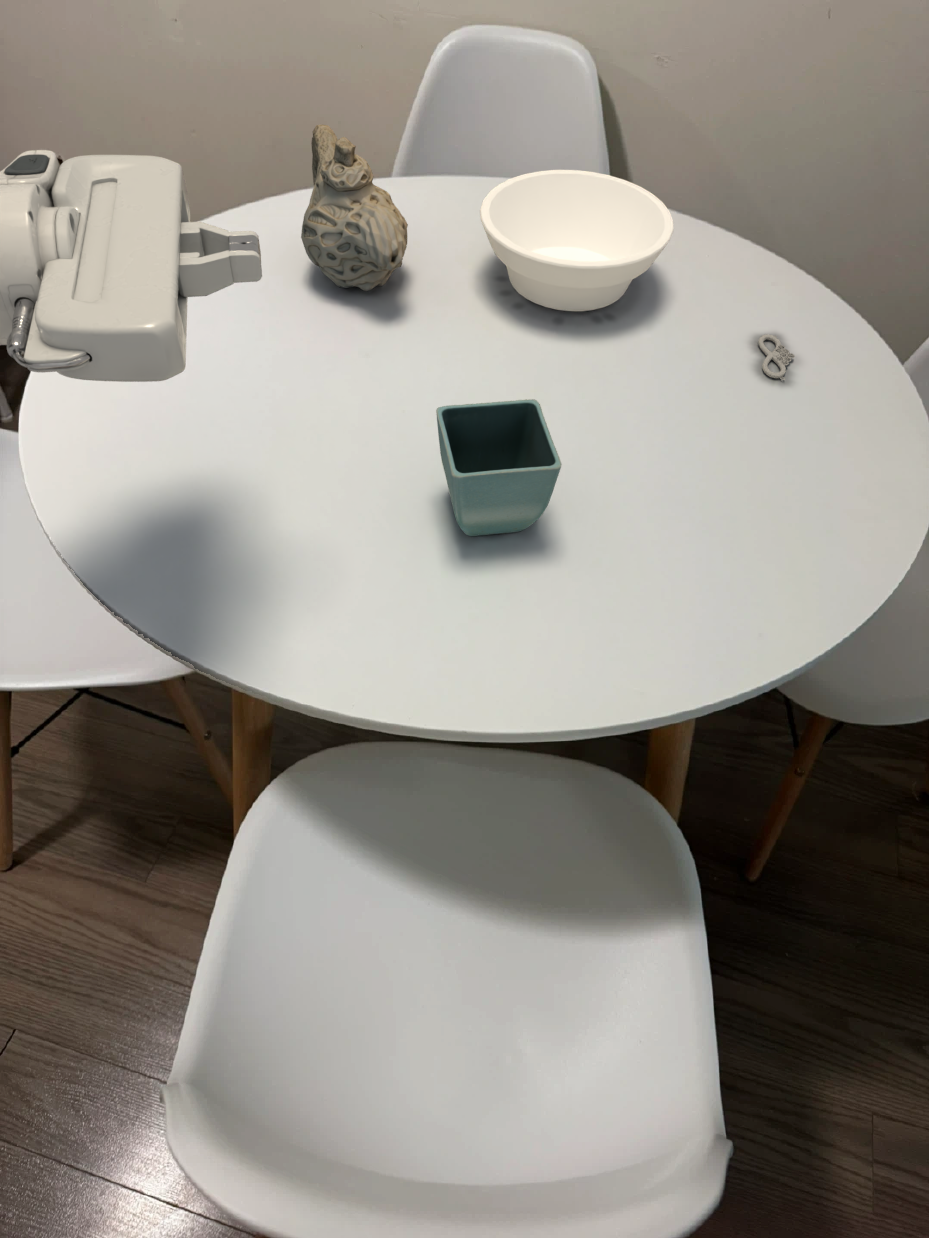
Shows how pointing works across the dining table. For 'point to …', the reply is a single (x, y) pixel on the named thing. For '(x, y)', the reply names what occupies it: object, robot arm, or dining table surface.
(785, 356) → the charm
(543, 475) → the flower pot
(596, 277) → the bowl
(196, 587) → the dining table surface
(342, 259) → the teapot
